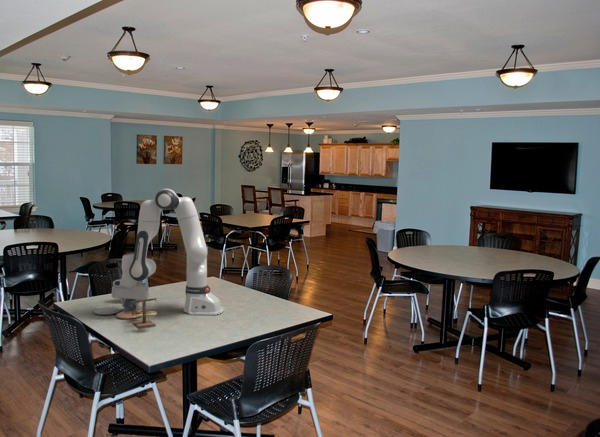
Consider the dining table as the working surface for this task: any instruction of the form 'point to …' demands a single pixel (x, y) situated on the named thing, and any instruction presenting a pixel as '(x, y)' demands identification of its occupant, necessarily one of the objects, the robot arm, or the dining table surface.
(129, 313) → the terracotta dish
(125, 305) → the block
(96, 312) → the grey dish
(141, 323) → the balance
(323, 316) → the dining table surface
